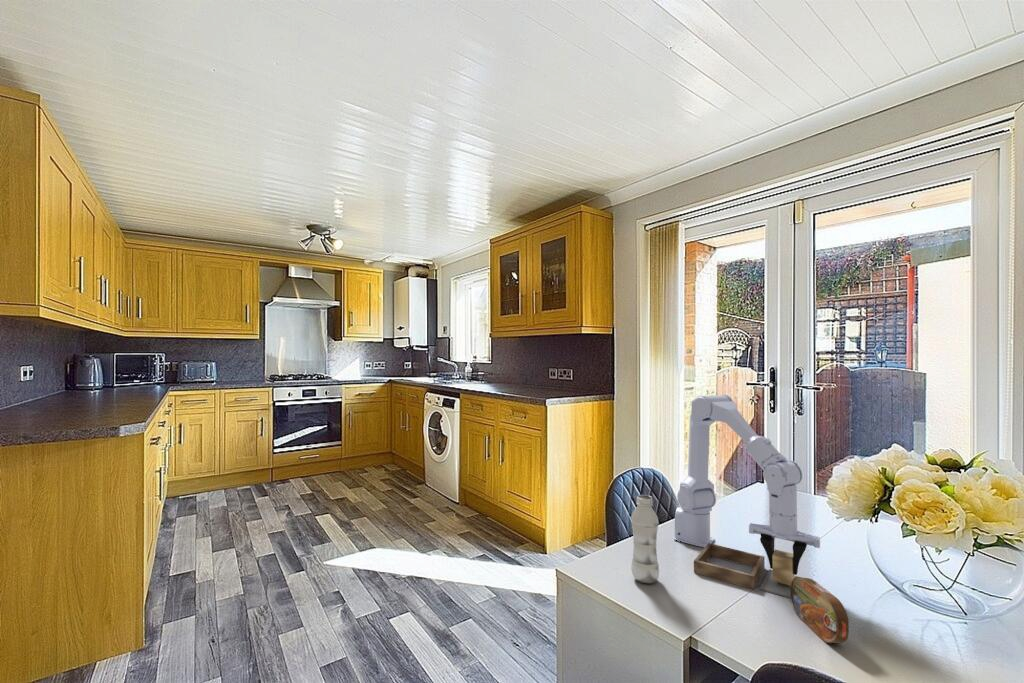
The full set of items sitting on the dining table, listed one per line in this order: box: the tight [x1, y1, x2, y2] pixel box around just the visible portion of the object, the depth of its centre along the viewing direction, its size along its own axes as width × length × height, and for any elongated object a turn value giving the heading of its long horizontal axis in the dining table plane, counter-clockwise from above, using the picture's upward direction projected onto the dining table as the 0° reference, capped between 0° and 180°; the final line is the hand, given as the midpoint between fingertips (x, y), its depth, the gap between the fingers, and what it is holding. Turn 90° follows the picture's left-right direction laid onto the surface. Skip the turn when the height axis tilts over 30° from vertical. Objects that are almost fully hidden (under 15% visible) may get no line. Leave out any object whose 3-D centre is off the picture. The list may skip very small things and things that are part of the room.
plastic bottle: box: [630, 494, 660, 584], centre depth 112 cm, size 6×7×20 cm
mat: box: [760, 568, 803, 599], centre depth 110 cm, size 8×12×1 cm, turn 142°
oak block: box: [772, 548, 796, 586], centre depth 110 cm, size 4×4×6 cm
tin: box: [790, 576, 850, 644], centre depth 92 cm, size 15×3×8 cm, turn 178°
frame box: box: [693, 543, 766, 591], centre depth 117 cm, size 14×14×3 cm
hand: (783, 570), depth 110 cm, fingers open, 4 cm apart
